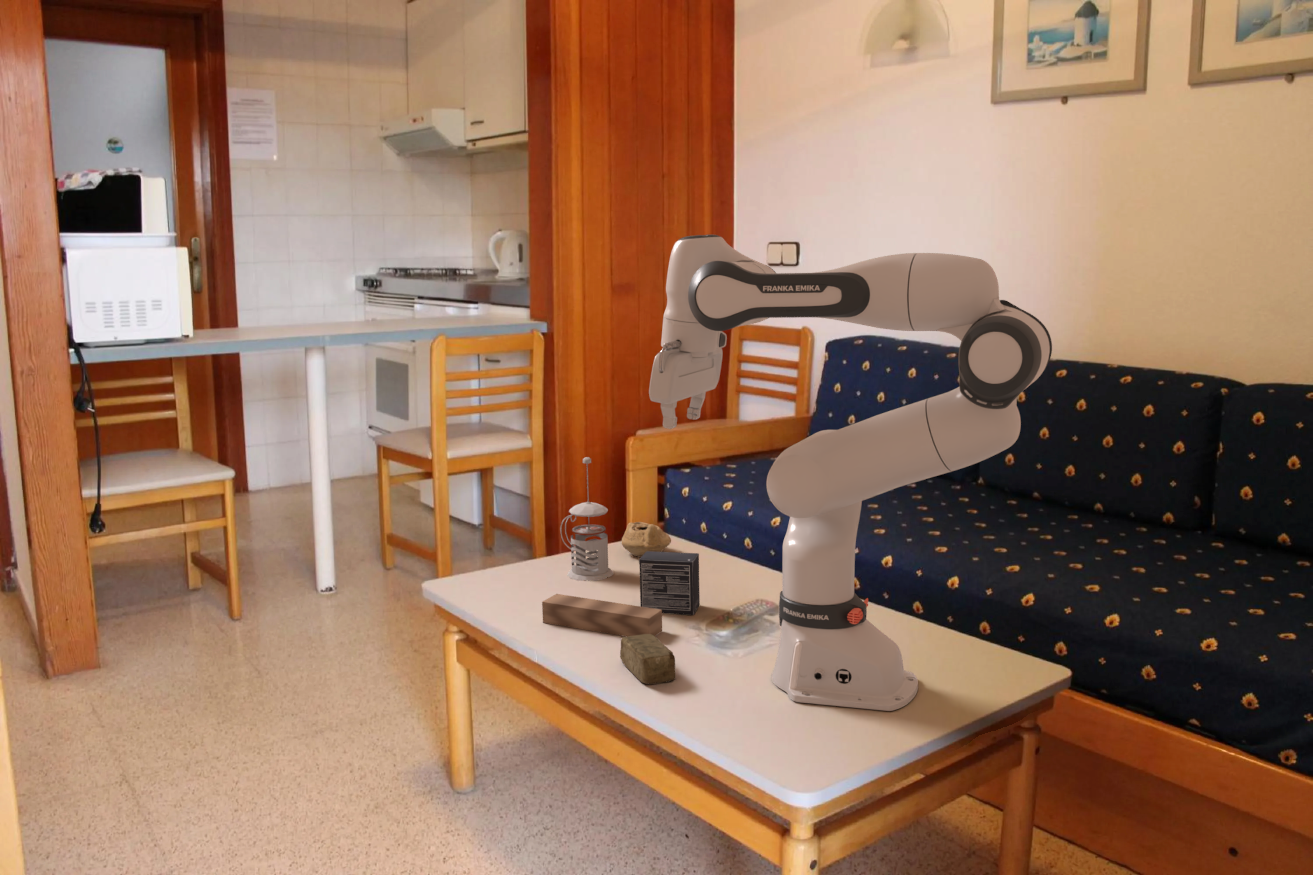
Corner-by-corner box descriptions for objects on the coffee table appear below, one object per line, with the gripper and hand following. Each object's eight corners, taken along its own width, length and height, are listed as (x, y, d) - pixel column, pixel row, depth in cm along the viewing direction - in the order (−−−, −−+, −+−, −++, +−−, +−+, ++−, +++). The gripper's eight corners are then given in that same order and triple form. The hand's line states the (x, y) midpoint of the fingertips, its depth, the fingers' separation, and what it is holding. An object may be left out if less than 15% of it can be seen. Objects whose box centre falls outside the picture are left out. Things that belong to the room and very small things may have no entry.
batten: (662, 631, 192) (661, 609, 191) (649, 640, 188) (649, 618, 187) (557, 614, 202) (556, 593, 201) (542, 622, 198) (542, 601, 197)
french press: (597, 583, 220) (593, 463, 215) (550, 575, 226) (546, 458, 221) (622, 570, 228) (619, 454, 224) (576, 563, 234) (573, 450, 230)
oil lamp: (645, 541, 250) (644, 508, 249) (682, 556, 238) (681, 521, 236) (604, 549, 244) (603, 515, 243) (640, 565, 232) (639, 529, 230)
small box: (701, 604, 206) (700, 551, 204) (694, 616, 200) (693, 561, 198) (647, 601, 208) (646, 549, 206) (639, 612, 202) (638, 558, 200)
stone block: (644, 688, 168) (643, 658, 167) (618, 663, 178) (617, 634, 177) (678, 682, 170) (677, 652, 169) (650, 658, 180) (650, 629, 180)
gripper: (681, 346, 159) (672, 437, 162) (731, 335, 178) (722, 417, 181) (642, 340, 162) (635, 430, 165) (696, 330, 180) (688, 411, 183)
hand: (681, 423), depth 173 cm, fingers open, 8 cm apart
